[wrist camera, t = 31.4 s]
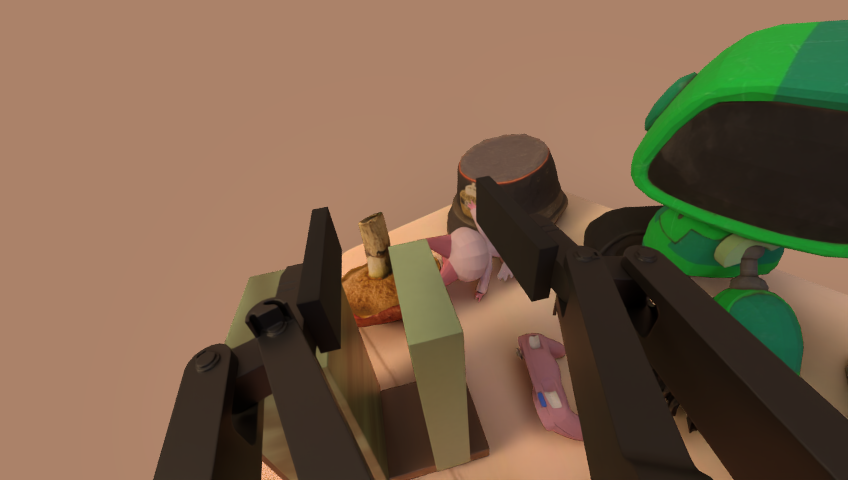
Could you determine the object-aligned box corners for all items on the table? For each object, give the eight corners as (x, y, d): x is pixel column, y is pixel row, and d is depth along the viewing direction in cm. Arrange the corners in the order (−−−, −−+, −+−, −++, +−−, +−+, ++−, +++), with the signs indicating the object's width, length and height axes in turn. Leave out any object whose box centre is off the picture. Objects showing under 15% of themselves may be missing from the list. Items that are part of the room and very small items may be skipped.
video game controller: (528, 359, 37) (504, 327, 34) (566, 347, 35) (545, 313, 32) (556, 453, 29) (528, 424, 26) (606, 443, 27) (583, 411, 24)
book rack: (313, 516, 26) (182, 403, 15) (320, 410, 33) (236, 279, 22) (491, 461, 28) (498, 322, 16) (460, 372, 35) (450, 232, 24)
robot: (575, 234, 51) (632, 23, 29) (726, 228, 46) (927, -28, 24) (628, 416, 33) (867, 231, 12) (876, 434, 29) (2038, 187, 7)
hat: (426, 241, 57) (417, 167, 47) (497, 177, 72) (500, 112, 63) (520, 281, 47) (533, 198, 38) (579, 198, 62) (598, 124, 53)
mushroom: (361, 232, 29) (332, 360, 33) (483, 244, 37) (447, 345, 41) (326, 189, 41) (309, 286, 46) (422, 205, 50) (400, 286, 54)
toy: (504, 194, 49) (391, 212, 40) (537, 186, 44) (414, 205, 34) (518, 282, 50) (412, 320, 41) (553, 286, 44) (438, 331, 35)
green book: (437, 471, 26) (407, 345, 16) (417, 376, 34) (387, 246, 23) (470, 461, 27) (463, 331, 16) (443, 369, 34) (426, 238, 23)
